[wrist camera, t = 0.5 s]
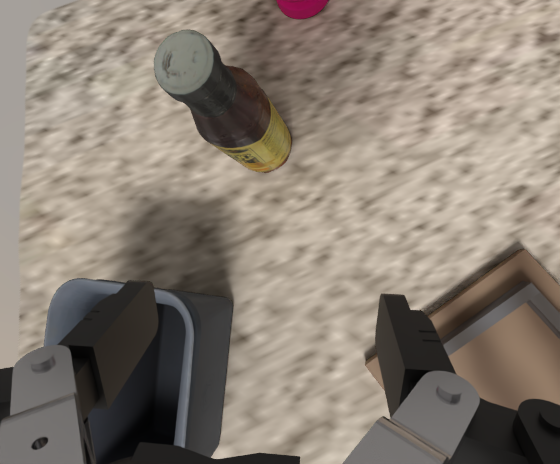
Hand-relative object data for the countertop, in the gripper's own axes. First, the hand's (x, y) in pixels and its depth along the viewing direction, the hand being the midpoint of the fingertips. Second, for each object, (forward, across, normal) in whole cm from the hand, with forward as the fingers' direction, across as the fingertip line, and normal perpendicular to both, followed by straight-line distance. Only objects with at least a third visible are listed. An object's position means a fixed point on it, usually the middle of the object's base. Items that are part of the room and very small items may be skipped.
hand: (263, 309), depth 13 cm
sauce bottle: (+31, +4, 0) cm, 31 cm away
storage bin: (+21, +12, +23) cm, 34 cm away
